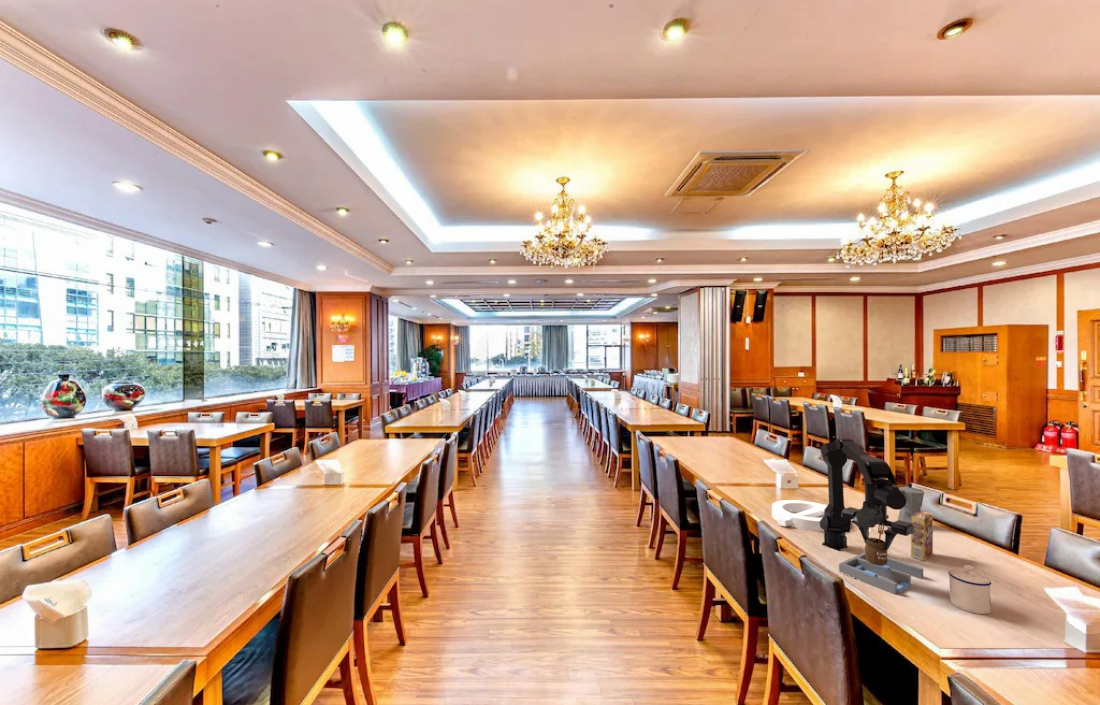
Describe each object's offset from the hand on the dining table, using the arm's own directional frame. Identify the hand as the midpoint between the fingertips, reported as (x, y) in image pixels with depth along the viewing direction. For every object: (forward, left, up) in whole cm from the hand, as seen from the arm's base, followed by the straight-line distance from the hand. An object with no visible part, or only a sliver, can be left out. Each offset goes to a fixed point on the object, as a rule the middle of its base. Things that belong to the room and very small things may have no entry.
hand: (876, 546), depth 143 cm
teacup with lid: (+20, +6, -11) cm, 24 cm away
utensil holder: (0, 0, -5) cm, 5 cm away
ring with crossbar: (-42, +34, -11) cm, 56 cm away
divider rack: (0, +4, -11) cm, 12 cm away
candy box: (0, +33, -11) cm, 35 cm away
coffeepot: (-16, +66, -11) cm, 68 cm away
